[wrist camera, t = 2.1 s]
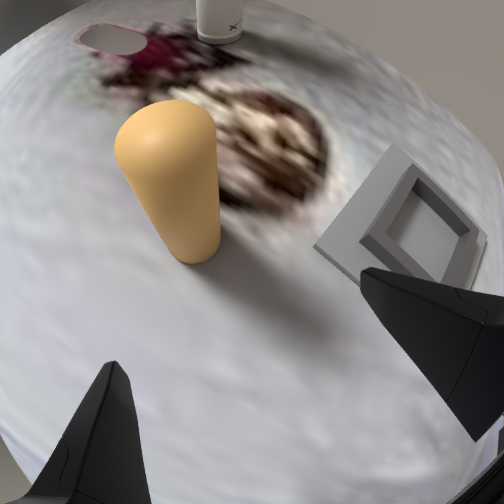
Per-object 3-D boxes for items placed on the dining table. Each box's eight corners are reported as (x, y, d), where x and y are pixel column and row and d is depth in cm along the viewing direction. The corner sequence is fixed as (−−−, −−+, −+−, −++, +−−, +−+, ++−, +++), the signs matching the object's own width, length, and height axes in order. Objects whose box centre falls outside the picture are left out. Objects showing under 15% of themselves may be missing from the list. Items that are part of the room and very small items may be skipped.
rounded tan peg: (194, 275, 23) (157, 200, 11) (155, 239, 24) (96, 144, 11) (232, 234, 24) (237, 130, 12) (193, 201, 25) (169, 88, 13)
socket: (435, 355, 22) (453, 355, 20) (312, 246, 25) (322, 235, 22) (483, 238, 27) (498, 230, 24) (389, 146, 29) (400, 132, 26)
